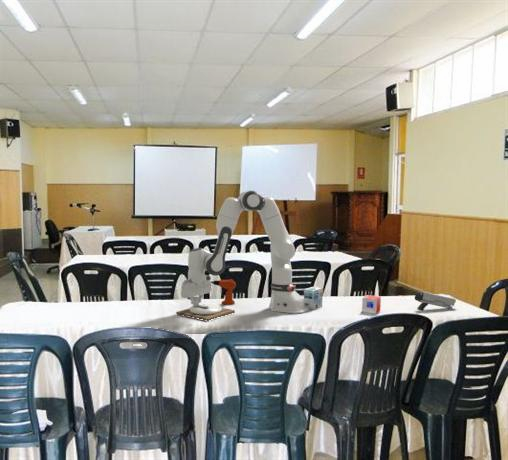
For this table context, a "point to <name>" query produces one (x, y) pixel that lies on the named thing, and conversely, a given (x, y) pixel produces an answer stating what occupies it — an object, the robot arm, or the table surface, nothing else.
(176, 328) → the table surface
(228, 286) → the toy drill
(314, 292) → the light bulb box
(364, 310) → the puzzle cube
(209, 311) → the dial
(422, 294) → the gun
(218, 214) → the robot arm
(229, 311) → the cardboard mat
